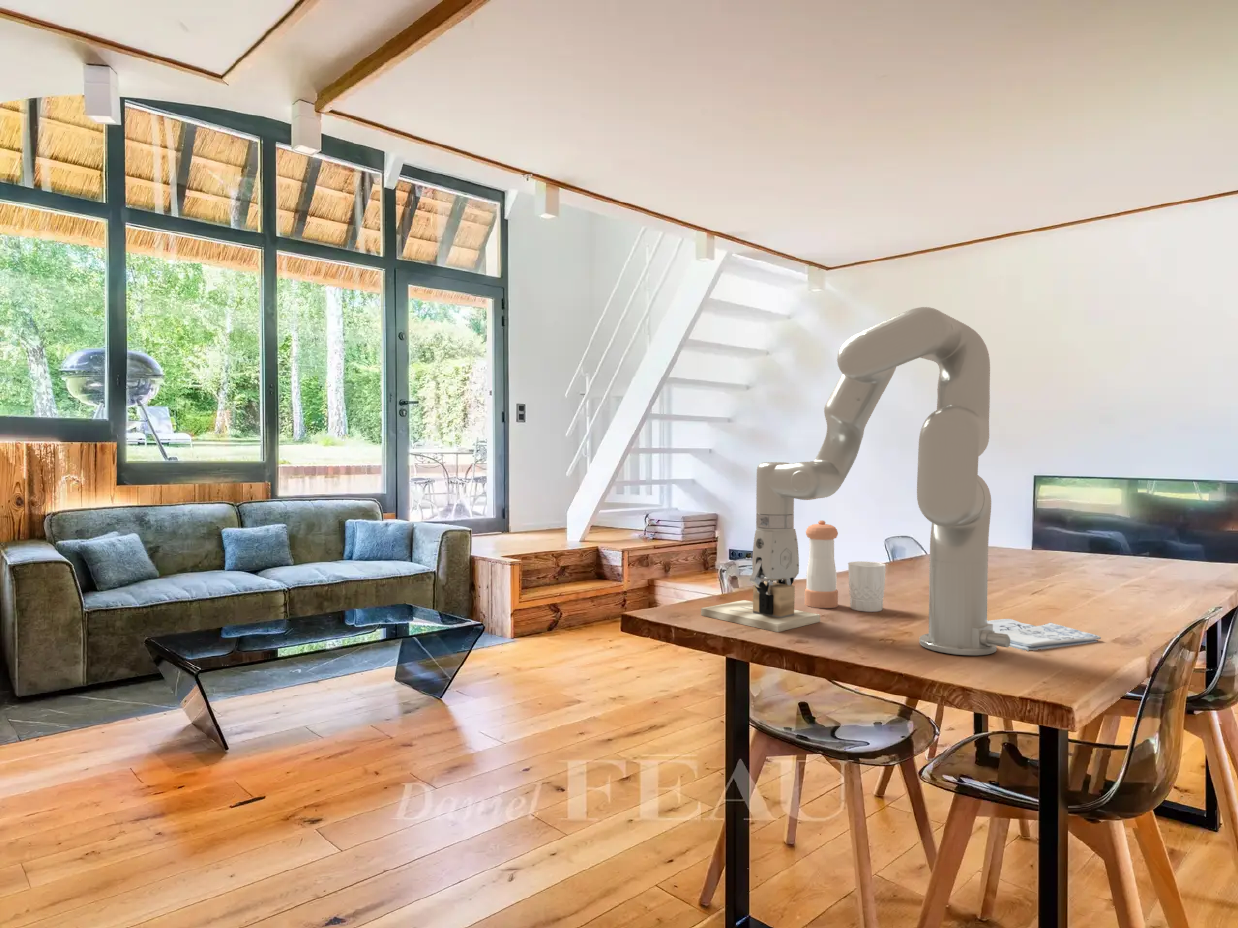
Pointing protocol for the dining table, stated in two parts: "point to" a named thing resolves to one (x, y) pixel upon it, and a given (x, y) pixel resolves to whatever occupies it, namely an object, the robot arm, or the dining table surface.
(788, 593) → the block
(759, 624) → the board
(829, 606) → the pepper shaker
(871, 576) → the white cup
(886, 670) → the dining table surface
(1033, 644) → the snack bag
